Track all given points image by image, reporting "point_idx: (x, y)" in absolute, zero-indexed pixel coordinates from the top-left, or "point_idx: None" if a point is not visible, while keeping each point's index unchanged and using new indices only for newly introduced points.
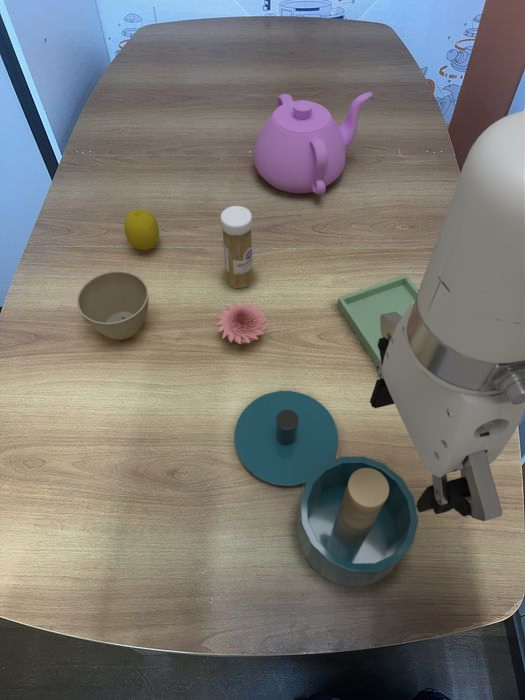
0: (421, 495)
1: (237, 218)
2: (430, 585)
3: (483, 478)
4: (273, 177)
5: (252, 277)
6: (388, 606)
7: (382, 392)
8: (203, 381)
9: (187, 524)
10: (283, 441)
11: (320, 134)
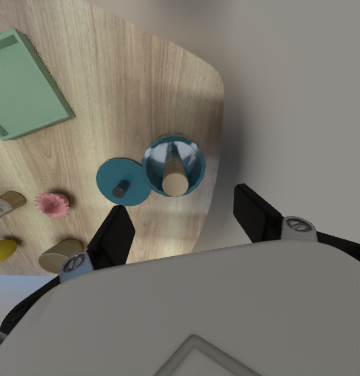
0: (244, 230)
1: None
2: (203, 124)
3: None
4: None
5: (10, 193)
6: (208, 148)
7: (125, 257)
8: (97, 215)
9: (165, 219)
10: (128, 188)
11: None
